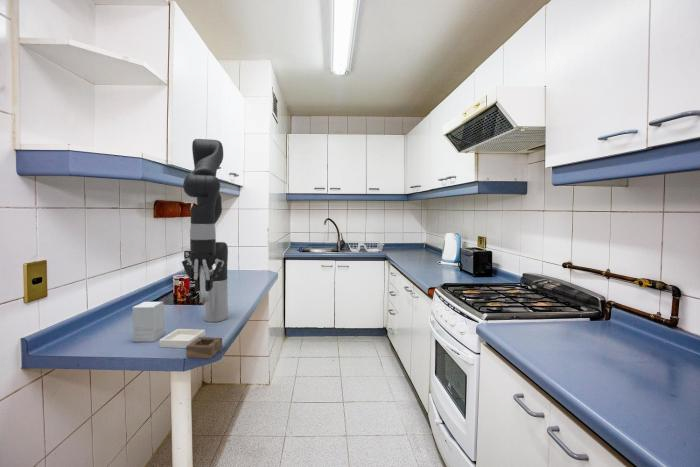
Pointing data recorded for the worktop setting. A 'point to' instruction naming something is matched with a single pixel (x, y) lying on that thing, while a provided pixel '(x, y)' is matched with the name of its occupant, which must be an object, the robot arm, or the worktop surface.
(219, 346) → the bore block
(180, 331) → the tray
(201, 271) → the cylinder
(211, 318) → the robot arm
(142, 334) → the supplement box
